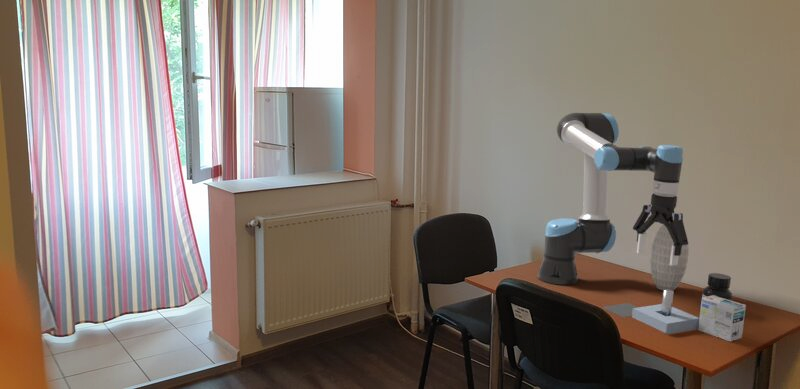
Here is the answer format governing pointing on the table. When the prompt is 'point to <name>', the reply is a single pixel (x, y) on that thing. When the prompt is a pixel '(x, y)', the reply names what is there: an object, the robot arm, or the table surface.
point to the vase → (667, 261)
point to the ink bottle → (718, 286)
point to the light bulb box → (721, 318)
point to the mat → (621, 309)
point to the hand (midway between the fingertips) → (656, 258)
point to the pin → (667, 302)
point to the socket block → (666, 319)
